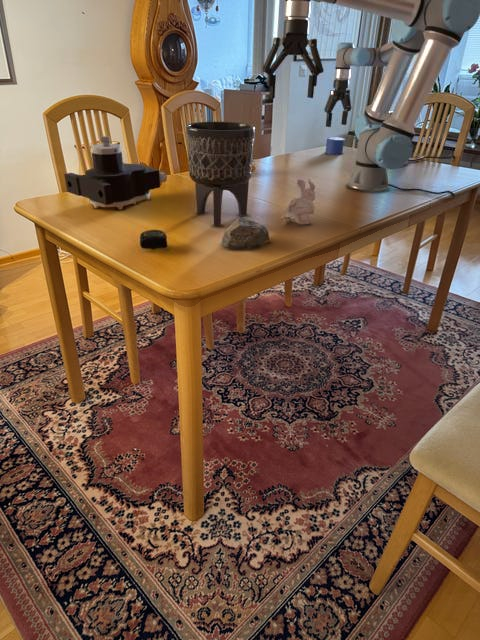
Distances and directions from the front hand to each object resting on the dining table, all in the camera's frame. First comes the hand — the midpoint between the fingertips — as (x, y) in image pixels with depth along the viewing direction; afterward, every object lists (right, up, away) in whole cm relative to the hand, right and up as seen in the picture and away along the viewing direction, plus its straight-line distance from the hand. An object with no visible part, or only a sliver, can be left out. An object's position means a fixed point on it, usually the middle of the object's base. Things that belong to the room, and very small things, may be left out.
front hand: (291, 98), depth 146 cm
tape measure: (-39, -53, -29) cm, 72 cm away
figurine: (+1, -42, -8) cm, 43 cm away
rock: (-15, -52, -25) cm, 59 cm away
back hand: (+33, +28, +87) cm, 97 cm away
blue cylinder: (+34, +17, +95) cm, 102 cm away
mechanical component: (-56, -31, +8) cm, 64 cm away
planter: (-23, -40, -6) cm, 46 cm away
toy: (-15, -8, +50) cm, 52 cm away
